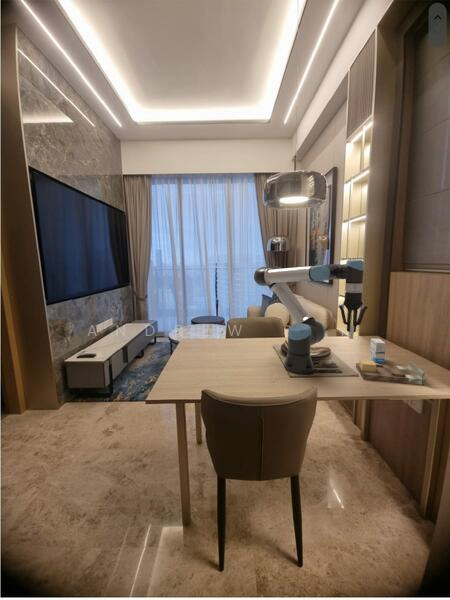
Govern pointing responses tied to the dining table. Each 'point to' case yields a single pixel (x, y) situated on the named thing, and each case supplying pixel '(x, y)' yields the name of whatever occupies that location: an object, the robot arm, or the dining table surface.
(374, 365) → the ochre block
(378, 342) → the ink box
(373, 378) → the board
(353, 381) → the dining table surface
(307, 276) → the robot arm
